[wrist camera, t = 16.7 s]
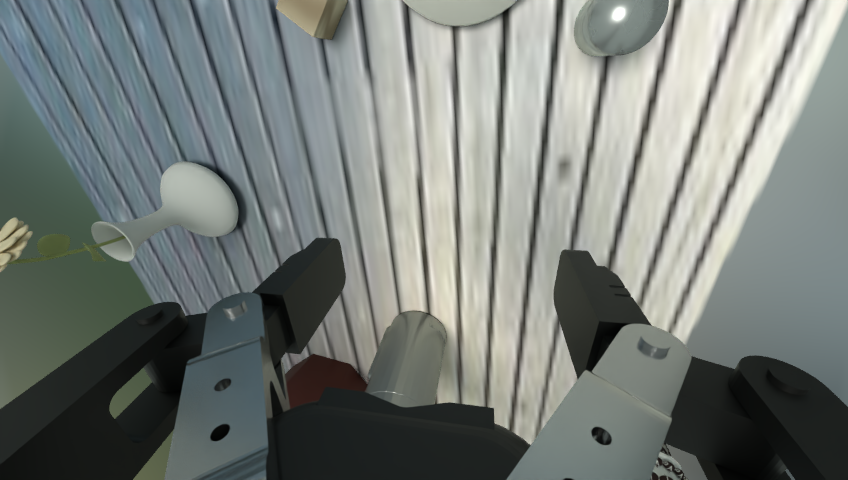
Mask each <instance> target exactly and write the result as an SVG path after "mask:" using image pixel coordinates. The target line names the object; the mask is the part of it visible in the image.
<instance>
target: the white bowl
mask: <svg viewBox="0 0 848 480" xmlns="http://www.w3.org/2000/svg"><path fill="white" fill-rule="evenodd" d="M403 1H404V2H405V3H406V4H407V5H408V6H409V7H411V8H412V9H413V10H414V11H416V12H417V13H419V14H420V15H422V16H423V17H425V18H427V19H429V20H431V21H433V22H435V23H439V24H442V25H446V26H455V27H460V26H470V25H475V24H479V23H482V22H485V21H488V20H490V19H492V18H494V17H496V16H498V15H500V14H501V13H503V12H504V11H505V10H507V9H508V8H510V7H511V6H512V5H513V4H514V3H516V2H517V1H518V0H403Z"/></svg>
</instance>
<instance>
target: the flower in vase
mask: <svg viewBox="0 0 848 480" xmlns="http://www.w3.org/2000/svg"><path fill="white" fill-rule="evenodd" d="M160 192H161V198H162V203H163V206H162V207H161V208H160V209H159V210H158V211H156V212H154V213H152V214H150V215H147V216H144V217H142V218H139V219H135V220H132V221H127V222H121V223H110V222H103V221H101V222H95V223H94V224H93V225H92V228H91V231H92V235H93V238H94V239H95V241H96V243H97V244H96V245H92V246H89V245H88V244H85V243H82V244H83V245H84V246H85V247H84V248H80V249H77V250H72V251H68V252H67V250H68V248H69V245H70V238H69V237H68V236H66V235H62V234H51V235H47V236H44V237H42V238H41V239H40V240H39V241H38V244H37V248H38V251H39V253H40V254H41V255H43V256H46V257H40V258H32V259H20V260H16V259H17V258H18V257H19V256H20V255H21V253H22V250H23V249H24V248H25V246H26V245H27V240H28V239H29V238H30V237H31V236H32V234H33V232H32V231H29V232H27V230H28V227H29V226H28V225H24V226H23V222H22V221H19V220H18V219H17V218H12V219H11V220H10V221H8V222H7V223H6V224H5V225H4V226H3V227H2V228H1V229H0V272H1V271H2V270H4V269H5V268H6V266H7V264H17V263H28V262H37V261H43V260H49V259H53V258H57V257H61V256H65V255H69V254H74V253H78V252H82V251H86V250H89V251H90V252H91V255H92V258H93V261H105V259H103V258H102V256H101V255H100V254H99V253H98V252H97V251H96V250H95V249H94V248H97V247H101V249H103V251H105V252H106V253H107V254H108V255H110V256H111V257H113V258H115V259H118V260H120V261H131V260H132V259H133V258H134V257H135V254H136V251H137V249H138V247H139V246H140V245H141V244H142V243H143V242H144V241H145V240H147V239H148V238H149V237H151V236H152V235H154V234H155V233H157V232H159V231H161V230H163V229H165V228H167V227H169V226H173V225H180V226H182V227H184V228H185V229H187V230H189V231H191V232H194V233H197V234H200V235H203V236H207V237H218V236H224V235H227V234H229V233H230V232H231V231H233V229H234V228H235V226H236V224H237V221H238V214H239V213H238V205H237V202H236V199H235V197H234V195H233V193H232V191H231V189H230V188H229V187H228V185H227V184H226V183H225V182H224V181H223V180H222V179H221V178H220V177H219V176H218V175H217V174H216V173H214V172H213V171H211V170H210V169H208V168H206V167H204V166H202V165H199V164H196V163H192V162H178V163H175V164H173V165H171V166H170V167H169V168H168V169H167V170H166V171H165V172H164V174H163V176H162V179H161V187H160Z"/></svg>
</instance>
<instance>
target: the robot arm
mask: <svg viewBox="0 0 848 480" xmlns="http://www.w3.org/2000/svg"><path fill="white" fill-rule="evenodd" d="M345 279H346V274H345V268H344V262H343V257H342V251H341V246H340V242H339V240H338V239H335V238H316V239H315V240H314V241H313V242H312V243H311V244H310V245H309V246H307V247H306V248H305V249H304V250H301V251H299V252H298V253H296V254H294V255H292V256H290V257H289V258H288V259H287V260H286V261H285V262H284V263H283V264H282V266H280V267H279V268H278V269H277V270H275V272H273V273H272V274H271V275H270V276H269V277H268V278H267V279H266V280H265V281H264V282H263V283H262V284H260V285H259V286H258V287H257V288H256V289H255V290H254V291H253V292H252V293H249V292H247V293H239V294H235V295H231V296H229V297H226V298H224V299H222V300H220V301H219V302H217V303H216V304H215V305H213V306H212V307H211V308H210V310H209V311H208V313H202V314H195V315H188V316H185V314H184V312H183V310H182V308H181V306H180V304H178V303H175V302H163V303H158V304H154V305H151V306H148V307H146V308H143V309H141V310H139V311H137V312H135V313H134V314H132V315H131V316H129V317H128V318H126V319H125V320H123V321H122V322H121V323H119V324H118V325H117V326H115V327H114V328H112V329H111V330H110V331H108V332H107V333H105V334H104V335H103V336H101V337H100V338H98V339H97V340H96V341H94V342H93V343H91V344H90V345H89V346H87V347H86V348H85V349H83V350H82V351H80V352H79V353H78V354H76V355H75V356H73V357H72V358H71V359H69V360H68V361H67V362H65V363H64V364H62V365H61V366H60V367H58V368H57V369H56V370H54V371H53V372H51V373H50V374H49V375H47V376H46V377H45V378H43V379H42V380H40V381H39V382H38V383H36V384H35V385H33V386H32V387H30V388H29V389H28V390H26V391H25V392H24V393H22V394H21V395H20V396H18V397H17V398H15V399H14V400H12V401H11V402H10V403H8V404H7V405H5V406H4V407H3V408H1V409H0V480H133V479H134V477H135V476H136V475H137V474H138V472H139V471H140V470H141V469H142V468H143V466H144V465H145V464H146V463H147V461H148V460H149V459H150V458H151V457H152V455H153V454H154V453H155V451H156V450H157V449H158V448H159V447H160V446H161V444H162V443H163V441H165V439H166V438H167V437H168V436H169V434H170V433H171V432H172V431H173V430H174V433H173V438H172V443H171V448H170V453H169V459H168V464H167V470H166V475H165V480H650V478H651V475H652V472H653V470H654V467H655V464H656V462H657V459H658V456H659V453H660V451H661V448H662V445H663V443H666V444H668V445H671V446H673V447H675V448H678V449H680V450H683V451H685V452H688V453H690V454H693V455H695V456H696V457H697V459H698V461H699V463H700V465H701V467H702V469H703V471H704V473H705V475H706V477H707V479H708V480H791V478H790V477H789V476H788V475H787V473H786V471H785V470H786V469H788V470H789V471H790V473H791V474H792V476H793V477H794V478H795V480H848V407H847V406H846V405H845V404H844V403H843V402H842V401H841V400H840V399H839V398H838V397H837V396H836V395H834V393H833V392H832V391H831V390H829V388H827V387H826V386H825V385H824V384H823V383H822V382H820V381H819V380H817V379H816V378H815V377H813V376H811V375H810V374H808V373H806V372H805V371H803V370H801V369H799V368H797V367H795V366H793V365H790V364H788V363H785V362H783V361H780V360H777V359H773V358H769V357H763V356H747V357H744V358H742V359H741V360H740V362H739V363H738V365H737V367H736V368H735V369H732V368H729V367H725V366H722V365H719V364H715V363H712V362H708V361H705V360H702V359H698V358H695V357H692V356H691V354H690V352H689V350H688V348H687V347H686V346H685V345H684V343H683V342H681V341H680V340H679V339H678V338H676V337H675V336H673V335H672V334H670V333H668V332H666V331H664V330H662V329H660V328H657V327H654V326H651V324H650V323H649V321H648V320H647V318H646V317H645V315H644V314H643V312H642V311H641V309H640V308H639V306H638V305H637V303H636V302H635V301H634V299H633V298H632V297H631V295H630V293H629V292H628V290H627V289H626V288H625V286H624V284H623V283H622V281H621V280H620V278H619V277H618V276H617V275H616V274H615V273H613V272H612V271H610V270H609V269H608V268H606V267H605V266H597V265H596V263H595V262H594V260H593V258H592V257H591V255H590V253H589V252H588V251H580V250H563V251H562V252H561V255H560V260H559V265H558V270H557V276H556V281H555V286H554V305H555V308H556V311H557V315H558V318H559V321H560V324H561V327H562V330H563V334H564V337H565V340H566V343H567V346H568V349H569V353H570V356H571V359H572V362H573V365H574V368H575V372H576V375H577V378H578V380H577V382H576V383H575V384H574V386H573V387H572V389H571V390H570V391H569V393H568V394H567V396H566V397H565V398H564V400H563V401H562V403H561V404H560V405H559V407H558V408H557V410H556V411H555V412H554V414H553V415H552V417H551V418H550V419H549V421H548V422H547V424H546V425H545V426H544V428H543V429H542V431H541V432H540V433H539V435H538V436H537V438H536V439H535V440H534V442H533V443H532V445H529V444H528V443H527V442H526V441H525V440H524V439H522V438H521V437H519V436H518V435H516V434H515V433H513V432H512V431H510V430H508V429H506V428H504V427H502V426H500V425H497V424H495V423H494V408H488V407H480V406H472V405H465V404H457V403H441V404H435V398H436V393H437V387H438V381H439V376H440V370H441V364H442V359H443V353H444V347H445V342H446V332H445V329H444V327H443V325H442V324H441V323H440V322H439V321H438V320H437V319H435V318H434V317H433V316H431V315H429V314H426V313H423V312H417V311H409V312H404V313H402V314H399V315H398V316H397V317H396V318H395V319H394V320H393V322H392V325H391V326H390V327H388V328H387V329H386V331H385V334H384V336H383V339H382V341H381V343H380V346H379V348H378V351H377V353H376V356H375V358H374V361H373V363H372V365H371V368H370V370H369V373H368V379H369V382H368V385H367V387H366V390H365V392H364V391H356V390H348V389H340V388H333V387H325V389H324V391H323V393H322V395H321V397H320V399H319V400H318V401H313V402H308V403H305V404H302V405H299V406H296V407H293V408H291V409H290V404H289V398H288V391H287V385H286V378H285V372H284V365H283V362H282V359H281V358H282V357H283V355H284V354H285V352H286V353H295V354H301V352H302V351H303V349H304V348H305V346H306V345H307V343H308V342H309V340H310V339H311V337H312V336H313V334H314V333H315V331H316V330H317V328H318V326H319V325H320V323H321V322H322V320H323V319H324V317H325V316H326V314H327V313H328V311H329V310H330V308H331V307H332V305H333V304H334V302H335V301H336V299H337V298H338V296H339V294H340V293H341V291H342V290H343V288H344V285H345ZM142 368H144V369H145V371H146V373H147V374H148V376H149V377H150V379H151V380H152V383H151V384H150V385H149V386H148V387H147V388H146V389H145V390H144V391H143V392H142V393H141V394H140V395H139V396H138V397H137V398H136V399H135V400H134V401H133V402H132V403H131V404H130V405H129V406H128V407H127V408H126V409H125V410H124V411H123V412H122V413H121V414H120V415H119V416H118V417H117V418H116V419H114V418H113V417H112V415H111V414H110V411H109V405H110V402H111V399H112V397H113V396H114V395H115V393H116V392H117V391H118V390H119V389H120V388H121V387H122V386H123V385H124V384H126V383H127V382H128V381H129V380H130V379H131V378H132V377H133V376H134V375H135V374H137V373H138V372H139V371H140V370H141V369H142Z"/></svg>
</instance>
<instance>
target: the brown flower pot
mask: <svg viewBox="0 0 848 480" xmlns="http://www.w3.org/2000/svg"><path fill="white" fill-rule="evenodd" d="M285 378H286V385H287V391H288V398H289V404H290V409H291V408H293V407H296V406H299V405H302V404H305V403H308V402H313V401H318V400H319V399H320V397H321V395H322V393H323V391H324V389H325V387H333V388H340V389H348V390H356V391H364V392H365V390H366V387H367V383H366V382H365V381H364V380H363V379H362V377H361V376H360V375H359V374H358V373H357V372H356V370H355V369H354V368H353V367H352V366H351V364H348V363H344V362H340V361H337V360H333V359H330V358H326V357H323V356H319V355H316V354H312V355H311V356H309V357H307V358H306V359H304V360H303V361H301V362H299V363H298V364H296V365H295V366H293V367H292V368H291V369H290V370H289V371H288V372H287V373H286V374H285Z"/></svg>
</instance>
